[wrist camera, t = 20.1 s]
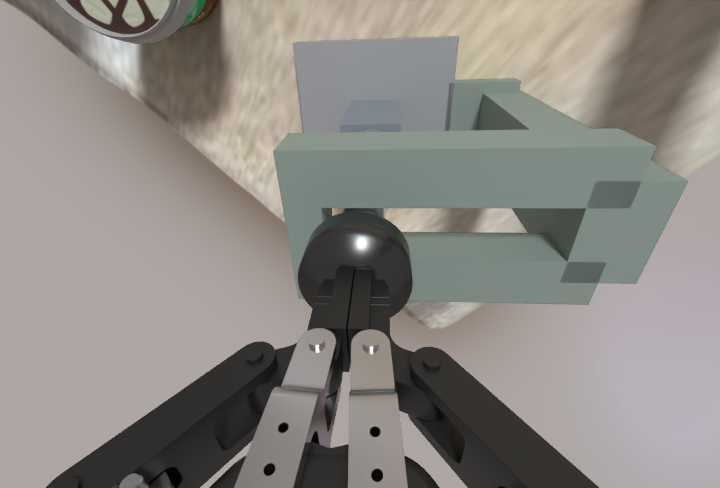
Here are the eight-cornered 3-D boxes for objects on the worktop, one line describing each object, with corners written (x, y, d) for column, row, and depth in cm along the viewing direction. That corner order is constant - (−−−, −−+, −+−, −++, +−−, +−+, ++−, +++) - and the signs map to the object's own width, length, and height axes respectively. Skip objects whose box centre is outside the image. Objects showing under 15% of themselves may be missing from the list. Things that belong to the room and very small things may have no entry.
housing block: (398, 99, 36) (401, 126, 27) (397, 147, 39) (400, 185, 30) (350, 100, 37) (338, 127, 28) (353, 147, 39) (342, 185, 30)
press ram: (402, 128, 27) (415, 235, 14) (400, 187, 30) (410, 326, 16) (338, 129, 27) (289, 234, 14) (342, 188, 30) (304, 323, 17)
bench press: (528, 33, 34) (751, 55, 13) (498, 185, 43) (604, 346, 22) (297, 41, 36) (168, 73, 15) (313, 186, 44) (247, 335, 23)
